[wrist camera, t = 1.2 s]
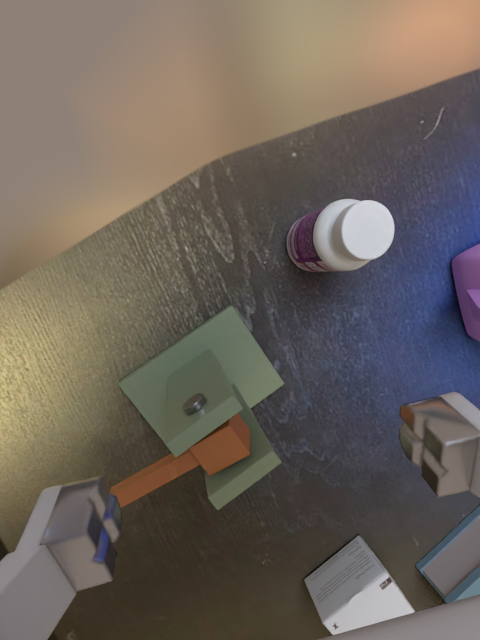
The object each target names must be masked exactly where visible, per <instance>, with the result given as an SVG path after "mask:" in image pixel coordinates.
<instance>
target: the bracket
mask: <svg viewBox="0 0 480 640" xmlns="http://www.w3.org/2000/svg"><path fill="white" fill-rule="evenodd" d="M118 385H119V387H120V388H121V389H122V390H123V392H124V393H125V394H126V395H127V397H128V398H129V399H130V400H131V402H132V403H133V404H134V405H135V407H136V408H137V409H138V411H139V412H140V413H141V414H142V416H143V417H144V418H145V419H146V421H147V422H148V423H149V424H150V426H151V427H152V428H153V429H154V431H155V432H156V433H157V434H158V436H159V437H160V438H161V439H162V441H163V442H164V443H165V445H166V446H167V447H168V449H169V450H170V451H171V452H172V454H173V455H174V456H175V457H177V456H179V455H180V454H182V453H183V452H184V451H186V450H187V449H188V448H190V447H191V446H193V445H194V444H195V443H197V442H198V441H200V440H201V439H202V438H204V437H205V436H206V435H208V434H209V433H211V432H212V431H213V430H215V429H216V428H217V427H219V426H220V425H222V424H223V423H224V422H226V421H227V420H229V419H230V418H231V417H233V416H234V415H235V414H237V413H238V414H239V415H240V417H241V418H242V419H243V421H244V422H245V424H246V425H247V426H248V428H249V429H250V455H249V456H247V457H245V458H243V459H241V460H239V461H237V462H236V463H234V464H232V465H230V466H228V467H226V468H224V469H223V470H221V471H219V472H217V473H215V474H213V475H211V476H209V475H208V473H207V472H206V471H205V469H204V468H203V469H204V475H205V482H206V488H207V495H208V499H209V500H210V501H211V503H212V504H213V505H214V506H215V508H216V509H217V510H219V509H221V508H222V507H223V506H225V505H226V504H227V503H229V502H230V501H231V500H233V499H234V498H235V497H237V496H238V495H239V494H241V493H242V492H243V491H245V490H246V489H247V488H249V487H250V486H251V485H253V484H254V483H255V482H257V481H258V480H259V479H261V478H262V477H263V476H265V475H266V474H267V473H269V472H270V471H271V470H273V469H274V468H275V467H277V466H278V465H279V464H281V461H280V459H279V457H278V456H277V454H276V452H275V451H274V449H273V447H272V445H271V444H270V442H269V440H268V438H267V437H266V435H265V433H264V432H263V430H262V428H261V426H260V425H259V423H258V421H257V420H256V418H255V416H254V414H253V413H252V411H251V408H252V407H253V406H255V405H256V404H258V403H259V402H260V401H262V400H263V399H264V398H266V397H267V396H269V395H270V394H271V393H273V392H274V391H275V390H277V389H278V388H280V387H281V386H282V385H284V382H283V381H282V379H281V378H280V376H279V375H278V373H277V372H276V370H275V369H274V367H273V366H272V364H271V363H270V361H269V360H268V358H267V357H266V355H265V354H264V352H263V351H262V349H261V348H260V346H259V345H258V343H257V342H256V340H255V339H254V337H253V336H252V334H251V333H250V331H249V330H248V328H247V327H246V325H245V324H244V322H243V321H242V319H241V318H240V316H239V315H238V313H237V312H236V310H235V309H234V307H233V306H232V305H229V306H227V307H226V308H224V309H223V310H221V311H220V312H218V313H217V314H216V315H214V316H213V317H211V318H210V319H208V320H207V321H205V322H204V323H202V324H201V325H200V326H198V327H197V328H195V329H194V330H192V331H191V332H189V333H188V334H187V335H185V336H184V337H182V338H181V339H179V340H178V341H176V342H175V343H173V344H172V345H171V346H169V347H168V348H166V349H165V350H163V351H162V352H160V353H159V354H158V355H156V356H155V357H153V358H152V359H150V360H149V361H147V362H146V363H144V364H143V365H142V366H140V367H139V368H137V369H136V370H134V371H133V372H131V373H130V374H129V375H127V376H126V377H124V378H123V379H121V380H120V381H119V383H118Z"/></svg>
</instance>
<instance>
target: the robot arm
mask: <svg viewBox="0 0 480 640" xmlns="http://www.w3.org/2000/svg"><path fill="white" fill-rule="evenodd" d="M400 417H401V418H402V420H403V421H404V422H403V424H402V425H401V426H400V428H399V440H400V443H401V447H402V449H403V451H404V453H405V455H406V456H407V457H408V459H409V460H410V461H411V463H413V464H415V465H417V466H419V467H421V468H422V477H423V478H424V480H425V481H426V482H427V484H428V485H429V486H430V487H431V489H432V490H433V491H434V493H435V494H436V495H437V496H438V497H442V496H446V495H451V494H455V493H460V492H464V491H468V490H470V492H471V493H473V494H474V495H476V496H478V497H479V498H480V410H479V409H478V408H477V407H475V406H474V405H473V404H472V403H470V402H469V401H468V400H467V399H466V398H464V397H463V396H462V395H461V394H459V393H456V392H451V393H447V394H443V395H439V396H436V397H431V398H427V399H423V400H419V401H415V402H411V403H407V404H403V405H402V406H401V408H400ZM110 488H111V483H110V481H109V479H108V477H107V476H98V477H94V478H89V479H84V480H79V481H75V482H70V483H65V484H63V485H58V486H53V487H48V488H45V489H44V490H43V491H42V492H41V493H40V495H39V497H38V500H37V502H36V504H35V507H34V509H33V511H32V513H31V516H30V518H29V520H28V522H27V525H26V527H25V529H24V531H23V534H22V536H21V538H20V540H19V543H18V545H17V547H16V550H15V552H12V553H8V554H7V555H6V556H5V557H4V558H3V559H2V560H1V562H0V640H47V639H48V638H49V636H50V635H51V633H52V632H53V630H54V629H55V627H56V625H57V624H58V622H59V621H60V619H61V617H62V616H63V614H64V613H65V611H66V610H67V608H68V606H69V605H70V603H71V602H72V600H73V599H74V597H75V595H76V591H80V590H83V589H87V588H90V587H93V586H97V585H100V584H104V583H107V582H111V581H112V578H113V573H114V567H115V561H116V556H117V552H116V550H115V548H114V546H113V544H114V542H115V541H116V540H117V538H118V537H119V536H120V532H121V526H122V512H121V507H120V503H119V501H118V498H117V496H115V495H113V494H111V493H110ZM318 640H480V594H479V595H475V596H472V597H468V598H465V599H461V600H457V601H454V602H450V603H447V604H443V605H439V606H436V607H432V608H429V609H425V610H422V611H418V612H414V613H411V614H407V615H404V616H400V617H396V618H393V619H389V620H386V621H382V622H378V623H375V624H371V625H368V626H364V627H361V628H357V629H353V630H350V631H346V632H343V633H339V634H335V635H332V636H328V637H325V638H321V639H318Z"/></svg>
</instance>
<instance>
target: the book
mask: <svg viewBox="0 0 480 640" xmlns="http://www.w3.org/2000/svg"><path fill="white" fill-rule="evenodd" d="M415 566H416V567H417V568H418V569H419V571H420V572H421V573H422V574H423V575H424V577H425V578H426V579H427V580H428V581H429V583H430V584H431V585H432V586H433V587H434V589H435V590H436V591H437V592H438V593H439V595H440V596H441V597H442V598H443V599H444V601H445V602H446V603H450V602H454V601H457V600H461V599H465V598H468V597H472V596H475V595H479V594H480V505H479V506H478V507H477V508H476V509H475V510H474V511H473V512H472V513H471V514H470V515H469V516H467V517H466V518H465V519H464V520H463V521H462V522H461V523H460V524H459V525H458V526H457V527H456V528H455V529H454V530H453V531H451V532H450V533H449V534H448V535H447V536H446V537H445V538H444V539H443V540H442V541H441V542H440V543H439V544H438V545H437V546H435V547H434V548H433V549H432V550H431V551H430V552H429V553H428V554H427V555H426V556H425V557H424V558H423V559H422V560H421V561H419V562H418V563H417V564H416V565H415Z"/></svg>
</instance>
